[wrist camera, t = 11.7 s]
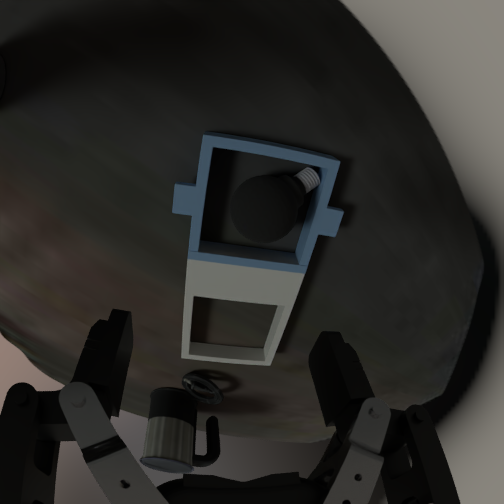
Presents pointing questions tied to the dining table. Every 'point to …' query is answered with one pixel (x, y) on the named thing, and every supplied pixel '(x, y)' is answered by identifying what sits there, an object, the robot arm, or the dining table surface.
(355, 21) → the dining table surface
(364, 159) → the dining table surface
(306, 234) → the two-tone divided frame
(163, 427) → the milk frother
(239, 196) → the light bulb
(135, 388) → the dining table surface
